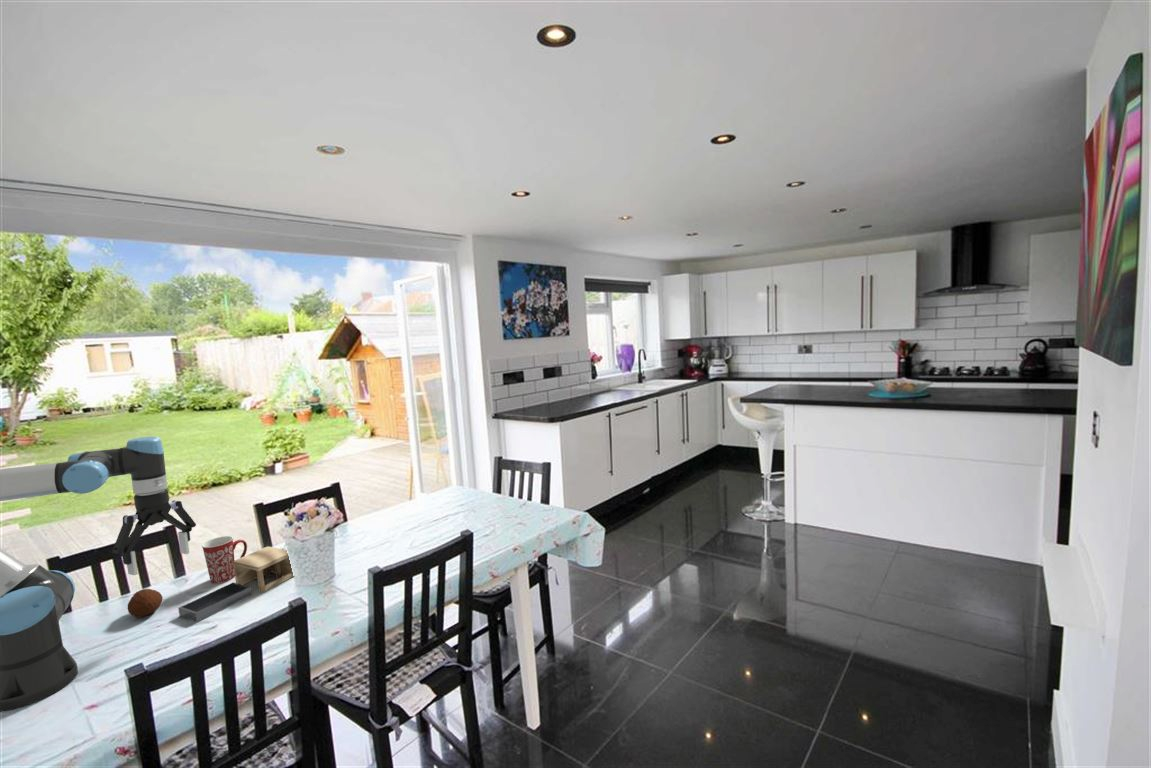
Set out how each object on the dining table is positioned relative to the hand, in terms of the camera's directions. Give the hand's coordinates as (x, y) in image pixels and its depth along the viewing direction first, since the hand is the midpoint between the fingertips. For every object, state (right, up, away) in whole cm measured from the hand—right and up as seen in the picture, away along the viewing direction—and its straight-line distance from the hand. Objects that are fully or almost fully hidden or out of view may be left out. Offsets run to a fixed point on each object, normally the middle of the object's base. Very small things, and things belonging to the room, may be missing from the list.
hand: (160, 563), depth 146 cm
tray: (+8, -18, +12) cm, 23 cm away
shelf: (+15, -15, +26) cm, 34 cm away
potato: (-12, -19, +10) cm, 24 cm away
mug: (-1, -16, +31) cm, 35 cm away
